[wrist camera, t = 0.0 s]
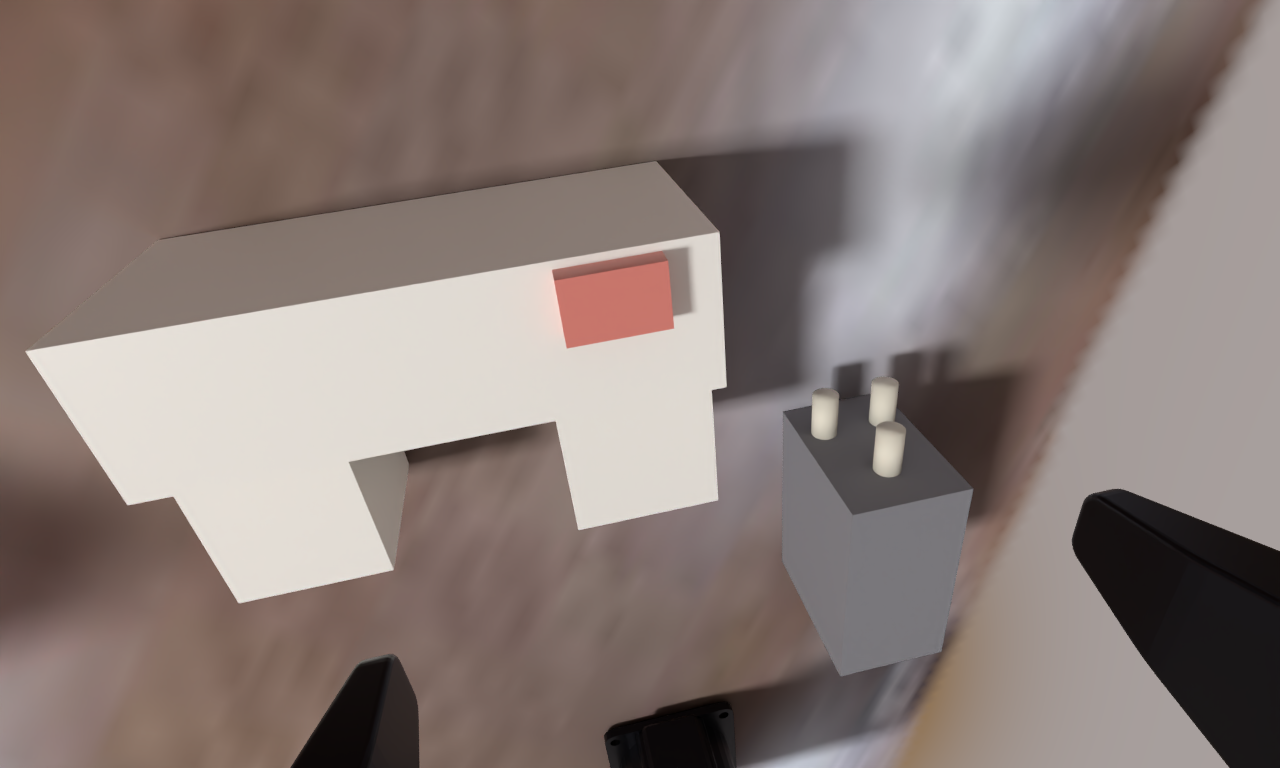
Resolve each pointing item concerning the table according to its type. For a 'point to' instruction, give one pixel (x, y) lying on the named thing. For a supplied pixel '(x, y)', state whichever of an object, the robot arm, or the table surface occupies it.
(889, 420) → the plug
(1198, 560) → the robot arm
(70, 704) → the table surface
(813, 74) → the table surface
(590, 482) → the socket
